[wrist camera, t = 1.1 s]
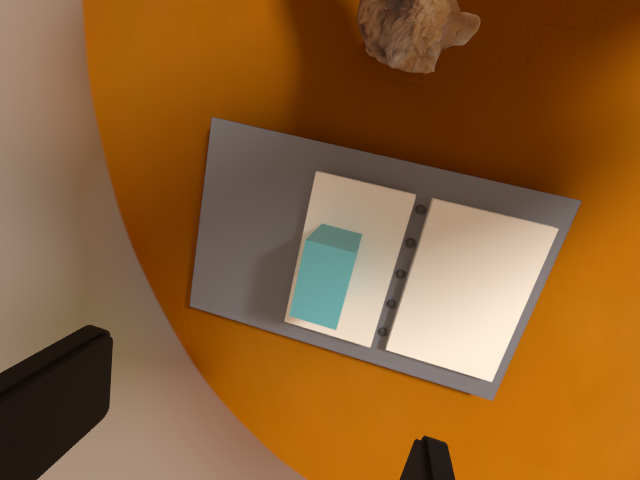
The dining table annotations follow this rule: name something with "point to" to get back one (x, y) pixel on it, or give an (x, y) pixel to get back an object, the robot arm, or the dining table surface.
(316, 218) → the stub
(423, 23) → the lion figurine
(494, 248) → the board
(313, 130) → the dining table surface
